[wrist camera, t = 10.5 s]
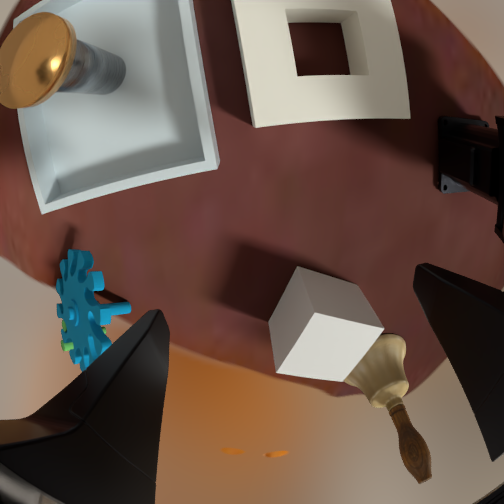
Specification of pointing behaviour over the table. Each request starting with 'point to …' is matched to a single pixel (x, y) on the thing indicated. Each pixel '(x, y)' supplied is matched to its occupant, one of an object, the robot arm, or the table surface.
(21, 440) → the robot arm
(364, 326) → the white cube
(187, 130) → the parts tray
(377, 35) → the white square hole block
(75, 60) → the lock pin
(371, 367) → the hand bell
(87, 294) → the gear
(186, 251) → the table surface
